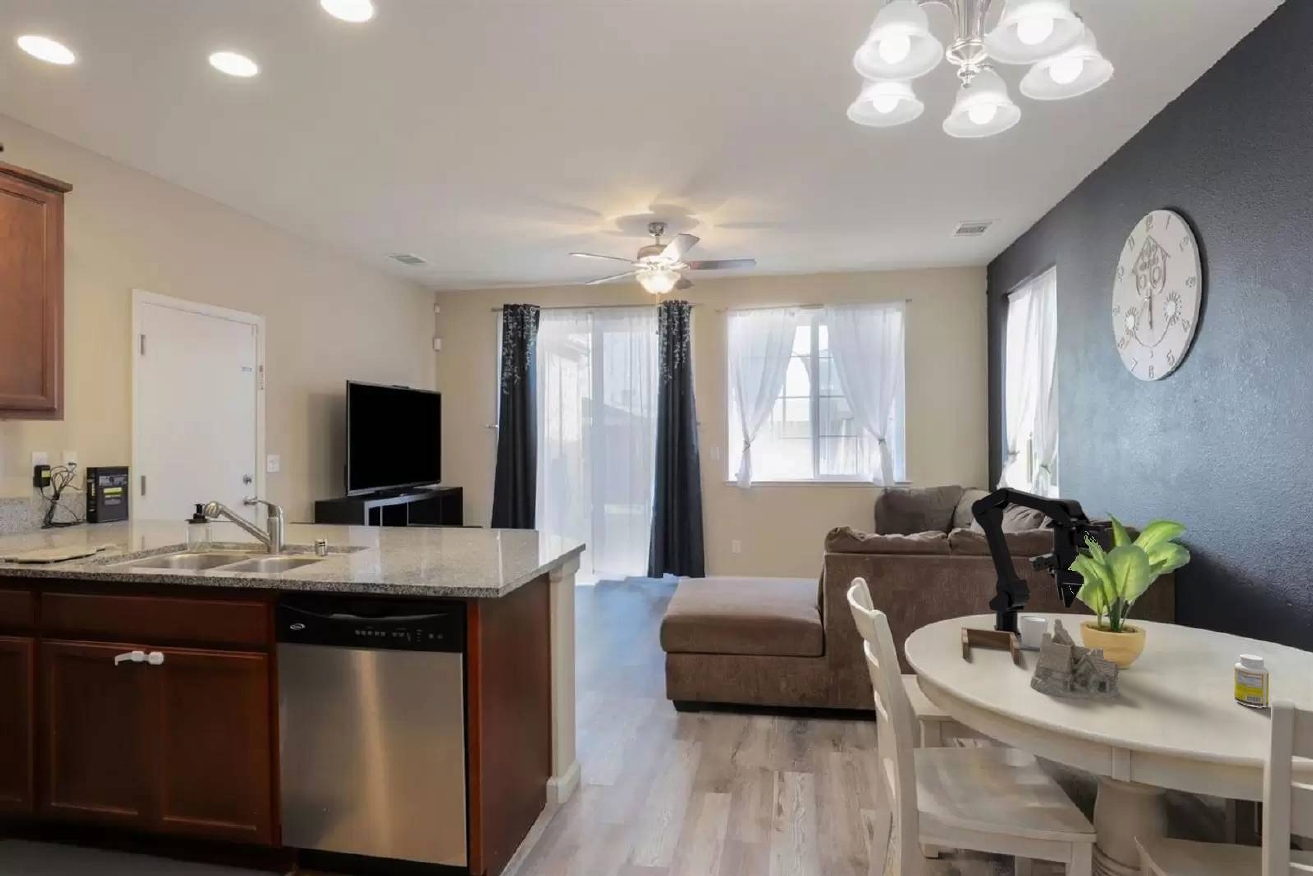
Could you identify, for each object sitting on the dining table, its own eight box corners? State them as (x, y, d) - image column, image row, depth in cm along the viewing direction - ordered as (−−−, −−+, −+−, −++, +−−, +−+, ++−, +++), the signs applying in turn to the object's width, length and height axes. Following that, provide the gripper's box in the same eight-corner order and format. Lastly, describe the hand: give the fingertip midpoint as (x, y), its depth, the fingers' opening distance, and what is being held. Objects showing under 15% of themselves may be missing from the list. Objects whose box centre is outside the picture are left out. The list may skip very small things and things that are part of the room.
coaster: (1013, 640, 195) (1013, 638, 195) (1050, 644, 191) (1050, 642, 191) (1016, 649, 186) (1016, 647, 186) (1054, 653, 183) (1054, 651, 183)
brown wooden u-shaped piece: (961, 641, 193) (961, 627, 193) (1013, 647, 188) (1014, 632, 188) (962, 657, 179) (963, 642, 179) (1019, 664, 174) (1019, 648, 174)
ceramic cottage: (1019, 685, 159) (1026, 620, 158) (1054, 674, 168) (1060, 613, 168) (1093, 712, 146) (1101, 642, 146) (1126, 699, 156) (1133, 633, 155)
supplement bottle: (1250, 699, 152) (1251, 652, 152) (1275, 709, 147) (1276, 660, 147) (1227, 699, 152) (1228, 653, 152) (1251, 709, 146) (1252, 661, 146)
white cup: (1053, 648, 185) (1053, 622, 185) (1027, 648, 186) (1027, 621, 186) (1039, 640, 192) (1040, 615, 192) (1014, 640, 192) (1015, 615, 192)
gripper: (1027, 539, 199) (1027, 593, 200) (1035, 549, 182) (1034, 608, 182) (1072, 542, 195) (1071, 597, 195) (1085, 552, 178) (1084, 613, 178)
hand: (1064, 603), depth 188 cm, fingers open, 9 cm apart
